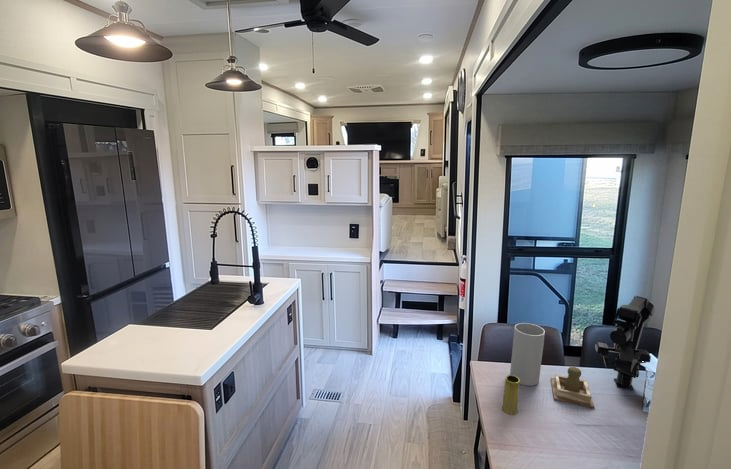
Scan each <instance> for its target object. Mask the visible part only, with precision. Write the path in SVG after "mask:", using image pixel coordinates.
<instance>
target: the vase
mask: <svg viewBox="0 0 731 469" xmlns="http://www.w3.org/2000/svg"><path fill="white" fill-rule="evenodd" d="M519 382H520V380H519V378H518V377H516V376H513V375H510V374H509V375H506V377H505V380H504V390H503V396H502V406H501V411H502V412H503V413H505V414H507V415H509V416H514V415H516V414H518V404H519V403H518V402H519V391H520V384H519Z"/></svg>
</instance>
